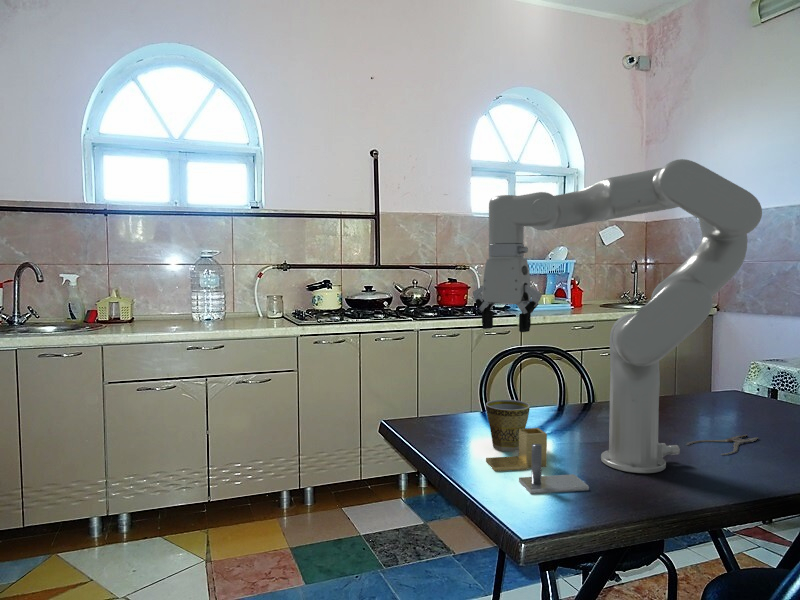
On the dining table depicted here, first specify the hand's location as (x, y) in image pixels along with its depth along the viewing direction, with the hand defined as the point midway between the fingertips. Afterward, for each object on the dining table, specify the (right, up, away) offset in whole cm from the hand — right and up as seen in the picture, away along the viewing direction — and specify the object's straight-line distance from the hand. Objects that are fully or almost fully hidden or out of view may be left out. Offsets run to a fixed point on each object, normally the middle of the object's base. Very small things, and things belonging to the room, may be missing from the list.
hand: (505, 330), depth 124 cm
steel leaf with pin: (+6, -29, -18) cm, 34 cm away
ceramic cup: (+2, -28, +7) cm, 28 cm away
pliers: (+53, -28, +8) cm, 60 cm away
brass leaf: (+1, -28, -6) cm, 29 cm away
